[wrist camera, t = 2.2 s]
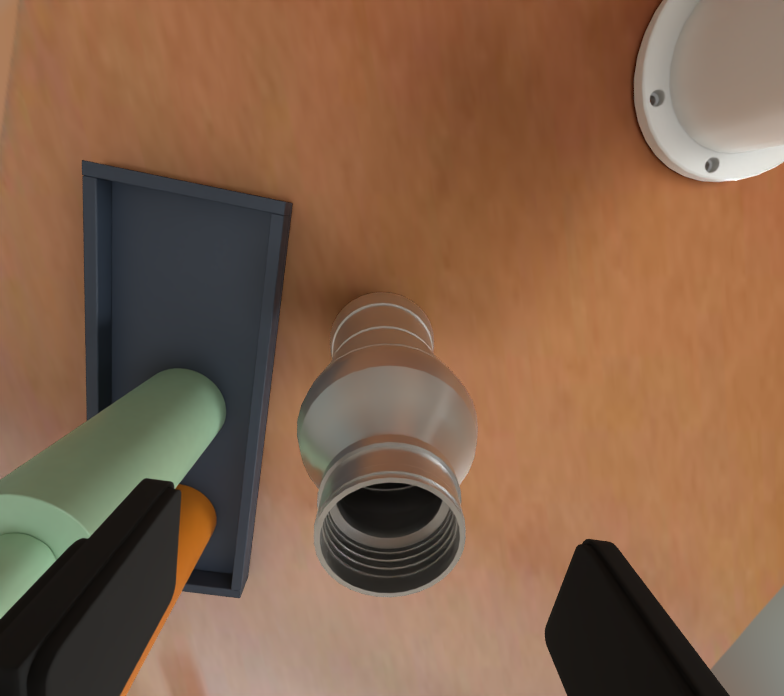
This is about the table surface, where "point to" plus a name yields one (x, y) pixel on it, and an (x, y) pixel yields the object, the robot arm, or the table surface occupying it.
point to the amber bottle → (185, 552)
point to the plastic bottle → (387, 451)
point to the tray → (189, 325)
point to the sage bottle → (101, 471)
